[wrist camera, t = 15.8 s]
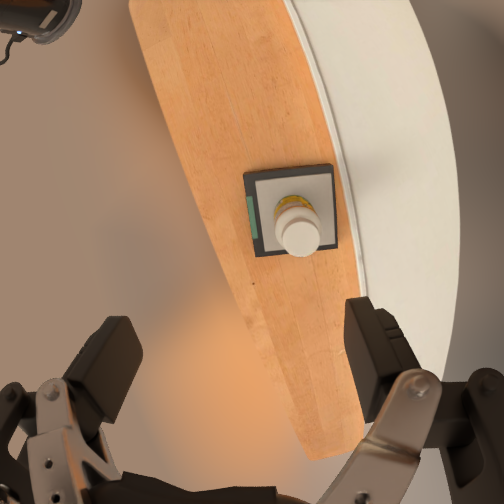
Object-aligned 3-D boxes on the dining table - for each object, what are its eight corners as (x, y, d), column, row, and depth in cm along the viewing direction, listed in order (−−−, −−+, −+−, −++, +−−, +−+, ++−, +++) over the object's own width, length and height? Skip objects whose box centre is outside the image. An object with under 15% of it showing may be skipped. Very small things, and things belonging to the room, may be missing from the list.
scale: (256, 251, 44) (255, 259, 41) (244, 172, 39) (242, 175, 36) (335, 243, 42) (338, 250, 40) (330, 163, 38) (334, 165, 35)
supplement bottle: (268, 199, 38) (269, 221, 29) (308, 189, 37) (321, 208, 28) (279, 236, 40) (282, 268, 31) (317, 226, 39) (331, 256, 30)
